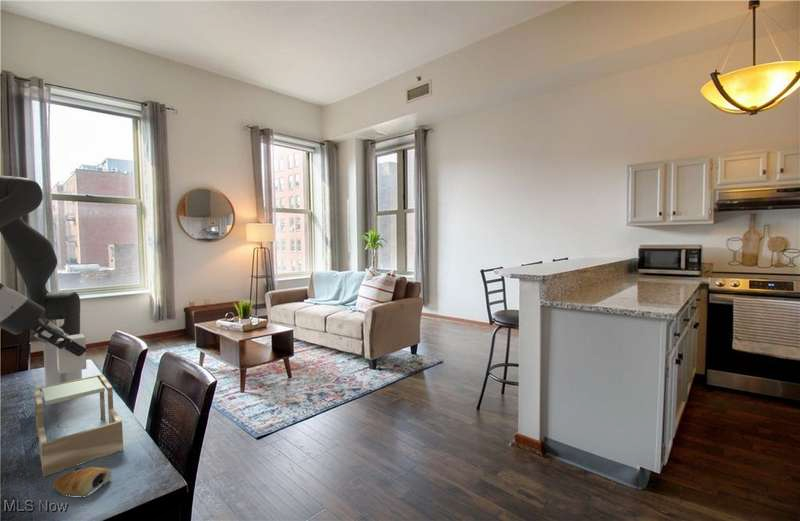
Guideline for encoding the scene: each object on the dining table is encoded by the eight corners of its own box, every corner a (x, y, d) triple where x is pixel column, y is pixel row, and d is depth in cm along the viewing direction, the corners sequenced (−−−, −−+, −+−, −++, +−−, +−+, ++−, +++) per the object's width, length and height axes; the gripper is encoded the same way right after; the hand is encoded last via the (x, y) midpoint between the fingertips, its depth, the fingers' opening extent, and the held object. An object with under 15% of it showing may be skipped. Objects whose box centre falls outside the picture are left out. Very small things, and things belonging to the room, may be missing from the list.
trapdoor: (42, 392, 94) (42, 388, 94) (97, 380, 102) (97, 376, 102) (45, 405, 87) (45, 401, 87) (104, 391, 95) (104, 387, 95)
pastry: (41, 498, 72) (41, 479, 72) (74, 476, 79) (74, 459, 79) (86, 500, 71) (85, 481, 71) (116, 478, 78) (115, 460, 78)
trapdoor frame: (36, 436, 95) (34, 388, 94) (104, 417, 105) (102, 374, 104) (43, 476, 78) (40, 419, 78) (123, 449, 88) (121, 398, 88)
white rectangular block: (57, 368, 92) (56, 337, 92) (83, 364, 96) (82, 333, 96) (59, 373, 89) (58, 341, 88) (86, 368, 92) (85, 337, 92)
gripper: (27, 300, 81) (99, 343, 91) (25, 294, 91) (90, 333, 100) (-7, 328, 78) (71, 370, 87) (-6, 318, 87) (65, 357, 97)
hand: (81, 350), depth 94 cm, fingers closed on white rectangular block, 5 cm apart
